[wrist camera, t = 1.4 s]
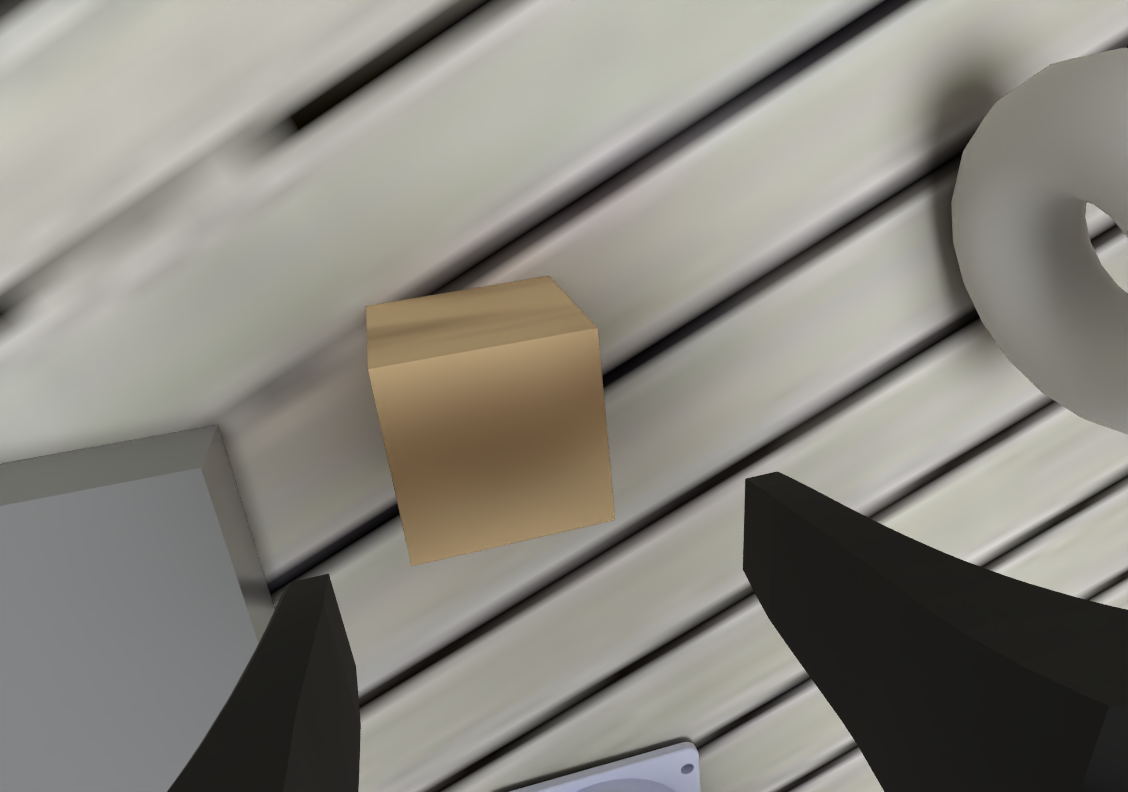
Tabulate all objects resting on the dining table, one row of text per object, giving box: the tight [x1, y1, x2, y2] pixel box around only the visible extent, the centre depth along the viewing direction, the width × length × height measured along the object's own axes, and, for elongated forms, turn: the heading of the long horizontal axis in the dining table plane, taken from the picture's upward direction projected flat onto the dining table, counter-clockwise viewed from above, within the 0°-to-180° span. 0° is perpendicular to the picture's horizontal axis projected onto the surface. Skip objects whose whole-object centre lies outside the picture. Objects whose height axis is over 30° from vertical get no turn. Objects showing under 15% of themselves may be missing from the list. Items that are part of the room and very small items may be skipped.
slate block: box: [0, 425, 275, 792], centre depth 21 cm, size 12×12×3 cm
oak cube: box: [366, 276, 615, 566], centre depth 20 cm, size 5×5×5 cm
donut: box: [951, 48, 1128, 434], centre depth 20 cm, size 10×4×10 cm, turn 22°
